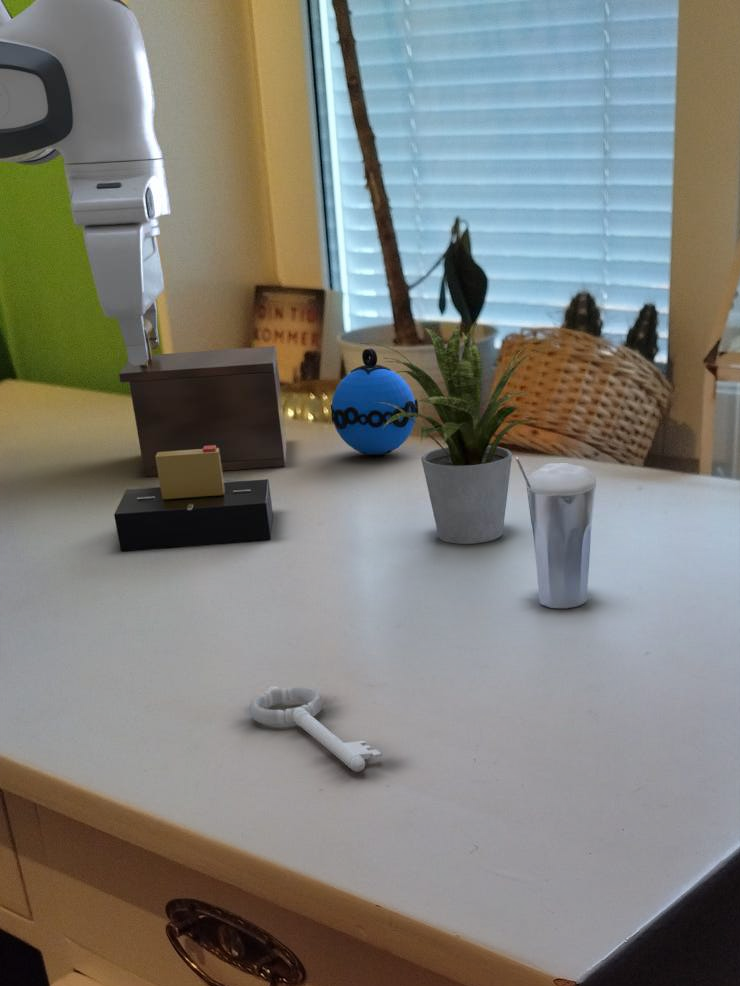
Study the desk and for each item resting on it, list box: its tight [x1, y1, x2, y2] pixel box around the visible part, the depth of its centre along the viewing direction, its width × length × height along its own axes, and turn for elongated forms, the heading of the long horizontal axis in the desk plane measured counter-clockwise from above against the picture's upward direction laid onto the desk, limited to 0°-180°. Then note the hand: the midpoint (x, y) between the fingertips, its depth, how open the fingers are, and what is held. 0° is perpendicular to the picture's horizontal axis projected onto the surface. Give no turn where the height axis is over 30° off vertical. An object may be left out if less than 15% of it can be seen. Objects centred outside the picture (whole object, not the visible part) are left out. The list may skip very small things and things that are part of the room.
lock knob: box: [156, 445, 225, 500], centre depth 107 cm, size 5×2×4 cm, turn 96°
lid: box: [118, 318, 277, 383], centre depth 127 cm, size 14×11×5 cm
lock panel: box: [113, 478, 274, 552], centre depth 109 cm, size 12×9×3 cm
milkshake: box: [515, 457, 597, 610], centre depth 87 cm, size 4×5×10 cm
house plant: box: [360, 318, 546, 545], centre depth 102 cm, size 14×14×16 cm
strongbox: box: [128, 355, 288, 477], centre depth 131 cm, size 14×11×9 cm
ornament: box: [330, 347, 419, 457], centre depth 129 cm, size 9×9×10 cm
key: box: [248, 685, 383, 773], centre depth 72 cm, size 12×1×4 cm
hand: (145, 356), depth 127 cm, fingers open, 8 cm apart
